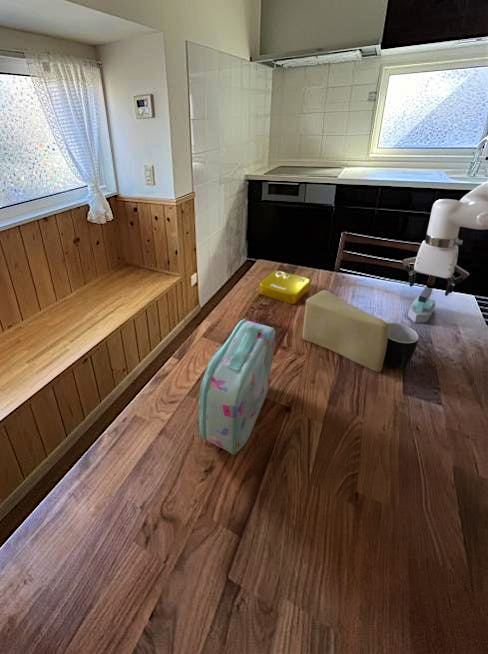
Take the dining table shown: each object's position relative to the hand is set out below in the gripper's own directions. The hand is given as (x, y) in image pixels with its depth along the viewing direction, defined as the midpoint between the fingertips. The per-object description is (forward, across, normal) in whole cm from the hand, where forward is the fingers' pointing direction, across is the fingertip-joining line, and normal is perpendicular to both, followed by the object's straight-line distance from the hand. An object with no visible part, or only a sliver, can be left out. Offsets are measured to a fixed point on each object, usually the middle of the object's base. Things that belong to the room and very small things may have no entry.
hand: (428, 289), depth 109 cm
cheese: (+9, +12, +35) cm, 38 cm away
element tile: (+9, +43, +16) cm, 47 cm away
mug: (+10, 0, +32) cm, 33 cm away
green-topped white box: (+10, +1, +1) cm, 10 cm away
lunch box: (+8, +22, +72) cm, 76 cm away
